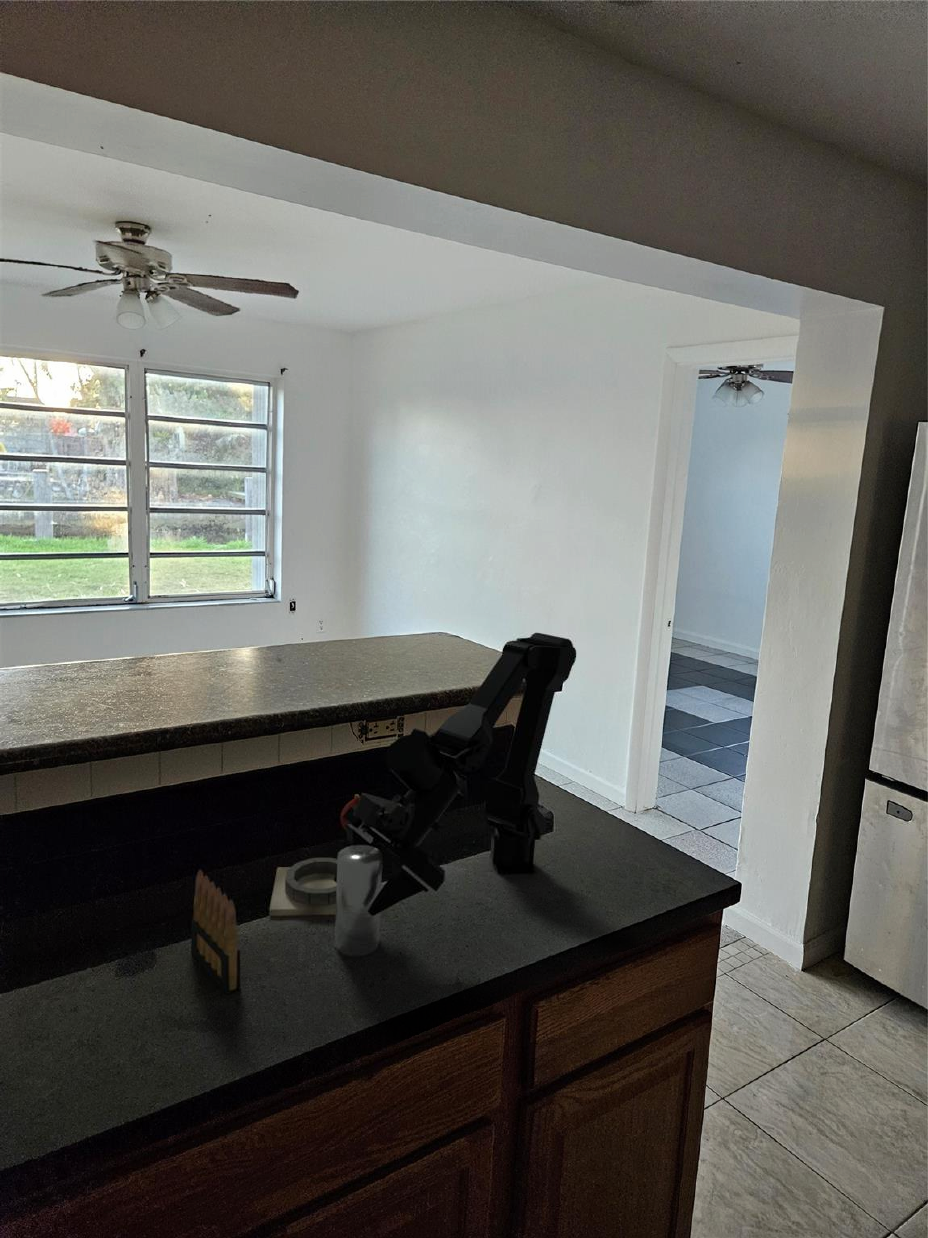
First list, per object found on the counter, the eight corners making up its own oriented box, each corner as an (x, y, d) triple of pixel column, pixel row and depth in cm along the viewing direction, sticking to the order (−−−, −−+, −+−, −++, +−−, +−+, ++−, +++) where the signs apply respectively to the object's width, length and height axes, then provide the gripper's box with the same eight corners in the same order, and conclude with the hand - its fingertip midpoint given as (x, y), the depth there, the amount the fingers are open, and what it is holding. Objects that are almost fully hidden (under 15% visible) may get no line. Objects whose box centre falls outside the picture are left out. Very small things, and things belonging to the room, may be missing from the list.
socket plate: (366, 872, 126) (367, 854, 126) (367, 914, 115) (368, 895, 114) (277, 873, 124) (277, 855, 124) (269, 916, 113) (269, 897, 112)
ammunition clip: (241, 989, 97) (241, 901, 95) (226, 995, 96) (227, 906, 94) (204, 947, 105) (204, 864, 103) (190, 952, 104) (190, 869, 101)
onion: (376, 831, 140) (378, 789, 139) (369, 846, 135) (371, 803, 133) (344, 828, 141) (346, 786, 139) (336, 843, 135) (337, 800, 134)
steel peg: (378, 929, 111) (381, 844, 109) (379, 955, 105) (383, 866, 103) (335, 930, 110) (338, 845, 108) (334, 957, 104) (337, 867, 102)
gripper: (356, 751, 113) (284, 840, 109) (431, 798, 99) (351, 903, 94) (400, 792, 119) (333, 878, 115) (476, 841, 105) (403, 942, 100)
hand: (352, 897), depth 106 cm, fingers open, 9 cm apart
